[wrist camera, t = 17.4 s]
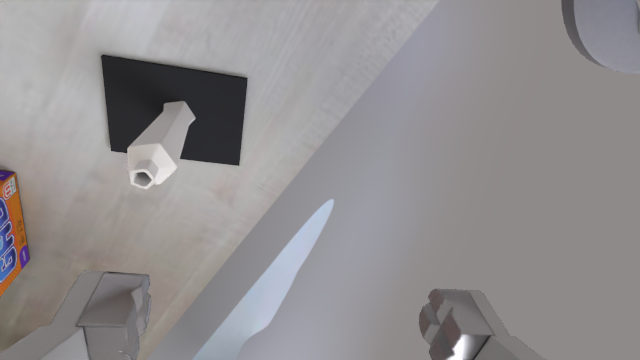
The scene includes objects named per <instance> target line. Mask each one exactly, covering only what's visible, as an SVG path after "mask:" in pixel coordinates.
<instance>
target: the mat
mask: <svg viewBox="0 0 640 360" xmlns="http://www.w3.org/2000/svg"><path fill="white" fill-rule="evenodd" d="M101 59H102V69H103V78H104V87H105V97H106V106H107V116H108V125H109V134H110V144H111V151H115V152H124V153H127V149H128V147H129V146H130V145H131V144H132V143H133V142H134V141H135V140H136V139H137V138H138V137H139V136H140V135H141V134H142V133H143V132H144V131H145V130H146V129H147V128H148V127H149V126H150V125H151V124H152V122H153V121H154V120H155V119H156V118H157V117H158V116H159V115H160V114H161V113H162V112H163V110H164V104H165V103H170V102H179V101H184V102H186V104H187V105H188V107H189V108H190V110H191V111H192V113H193V114H194V116H195V120H194V121H193V122H192V123H191V124H190V125H189V127H188V131H187V134H186V138H185V141H184V145H183V149H182V152H181V156H180V159H186V160H194V161H203V162H212V163H221V164H230V165H238V166H239V160H240V150H241V140H242V130H243V119H244V109H245V99H246V88H247V78H243V77H237V76H231V75H225V74H218V73H212V72H206V71H200V70H194V69H188V68H181V67H175V66H169V65H163V64H157V63H151V62H144V61H138V60H132V59H126V58H120V57H114V56H107V55H102V56H101Z"/></svg>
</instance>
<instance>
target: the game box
mask: <svg viewBox="0 0 640 360" xmlns="http://www.w3.org/2000/svg"><path fill="white" fill-rule="evenodd" d="M29 260H30V259H29V253H28V247H27V241H26V235H25V229H24V223H23V216H22V210H21V204H20V198H19V192H18V185H17V179H16V173H14V172H7V171H0V296H1V295H2V294H3V293H4V291H5V290H6V289H7V288H8V286H9V285H10V284H11V283H12V281H13V280H14V279H15V277H16V276H17V275H18V274H19V272H20V271H21V270H22V269H23V267H24V266H25V265H26V264H27V262H28V261H29Z"/></svg>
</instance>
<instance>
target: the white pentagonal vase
mask: <svg viewBox="0 0 640 360" xmlns="http://www.w3.org/2000/svg"><path fill="white" fill-rule="evenodd" d="M194 120H195V116H194V114H193V113H192V111H191V110H190V108H189V107H188V105H187V104H186V102H184V101H179V102H170V103H165V104H164V110H163V112H162V113H161V114H160V115H159V116H158V117H157V118H156V119H155V120H154V121H153V122H152V124H151V125H150V126H149V127H148V128H147V129H146V130H145V131H144V132H143V133H142V134H141V135H140V136H139V137H138V138H137V139H136V140H135V141H134V142H133V143H132V144H131V145H130V146H129V147H128V149H127V154H128V173H129V174H130V183H131V184H132V185H134V186H137V187H140V188H142V189H148V188H149V187H150V186H151V185H152V184H156V185H160V184H161V183H162V182H163V181H164V180H165V179H166V178H167V177H168V176H170V175H171V174H172V173H173V172H174V171H175V170H176V169H177V167H178V163H179V159H180V156H181V152H182V149H183V145H184V141H185V138H186V134H187V131H188V127H189V125H190V124H191V123H192V122H193V121H194Z"/></svg>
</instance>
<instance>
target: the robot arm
mask: <svg viewBox="0 0 640 360" xmlns="http://www.w3.org/2000/svg"><path fill="white" fill-rule="evenodd" d="M636 3H637V5H638V8H639V11H640V0H636ZM639 35H640V18H639ZM149 286H150V278H149V275H147V274H134V273H120V272H103V271H89V270H84V271H83V272H82V273H81V274H80V275H79V276H78V278H77V279H76V281H75V283H74V284H73V286H72V288H71V289H70V291H69V293H68V294H67V296H66V298H65V299H64V301H63V303H62V304H61V306H60V308H59V309H58V311H57V313H56V314H55V316H54V318H53V319H52V321H51V323H50V324H49V326H41V327H39V328H38V329H36V330H35V331H33V332H32V333H30V334H28V335H27V336H25V337H24V338H22V339H21V340H19V341H18V342H16V343H15V344H13V345H12V346H10V347H9V348H7V349H6V350H4V351H3V352H1V353H0V360H136V357H137V354H138V352H139V349H140V348H139V337H140V336H141V335H143V334H144V333H145V330H146V327H147V324H148V320H149V315H150V309H151V296H150V295H149V294H148V293H147V292H148V289H149ZM428 298H429V301H430V302H429V303H428V304H426V305H425V306H423V308H422V310H421V312H420V317H419V326H420V331H421V333H422V336H423V338H424V339H425V340H426V341H427V342H428V343H429V344H430V345H431V346H430V349H429V354H430V356H431V358H432V360H545V359H544V358H543V357H542V356H540V355H539V354H538V353H536V352H535V351H534V350H532V349H531V348H530V347H528V346H527V345H526V344H525V343H523V342H522V341H521V340H519V339H518V338H517V337H513V336H510V334H509V333H508V331H507V329H506V328H505V327H504V325H503V323H502V322H501V320H500V319H499V317H498V315H497V314H496V312H495V310H494V309H493V307H492V306H491V304H490V303H489V301H488V300H487V298H486V296H485V295H484V294H483V293H482V292H481V291H477V290H457V289H434V290H432V291H431V292H430V294H429V296H428Z"/></svg>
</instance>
